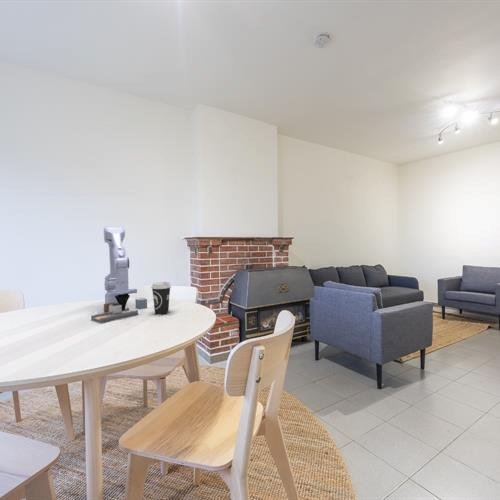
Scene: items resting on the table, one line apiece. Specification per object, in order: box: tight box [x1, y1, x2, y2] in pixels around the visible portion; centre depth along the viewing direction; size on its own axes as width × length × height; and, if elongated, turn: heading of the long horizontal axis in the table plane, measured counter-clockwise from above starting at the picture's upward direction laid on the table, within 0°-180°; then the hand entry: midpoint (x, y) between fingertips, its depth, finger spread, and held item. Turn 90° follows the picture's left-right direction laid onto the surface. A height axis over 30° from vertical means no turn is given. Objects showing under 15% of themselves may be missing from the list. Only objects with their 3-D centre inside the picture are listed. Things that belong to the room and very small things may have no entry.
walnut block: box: [103, 302, 115, 313], centre depth 144 cm, size 4×4×5 cm
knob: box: [109, 303, 122, 316], centre depth 135 cm, size 4×4×5 cm
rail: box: [90, 307, 139, 324], centre depth 135 cm, size 9×18×2 cm, turn 143°
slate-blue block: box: [135, 297, 148, 310], centre depth 154 cm, size 4×4×5 cm
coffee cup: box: [150, 281, 172, 315], centre depth 143 cm, size 10×10×15 cm
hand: (122, 309), depth 138 cm, fingers closed
